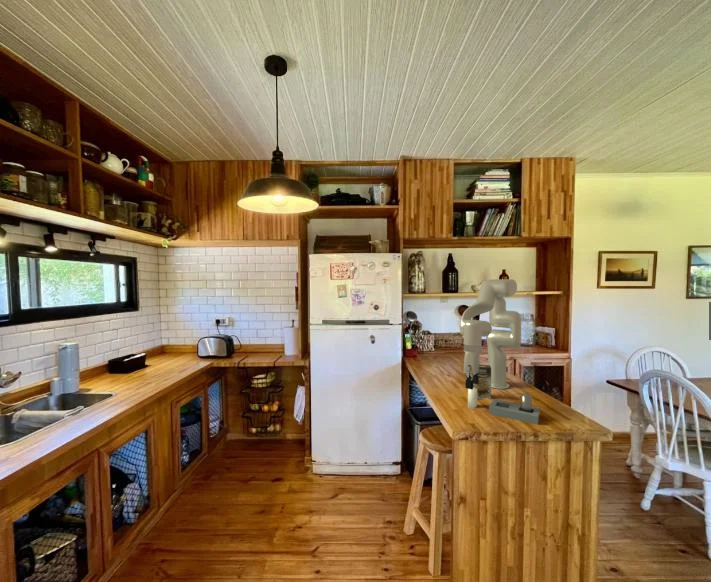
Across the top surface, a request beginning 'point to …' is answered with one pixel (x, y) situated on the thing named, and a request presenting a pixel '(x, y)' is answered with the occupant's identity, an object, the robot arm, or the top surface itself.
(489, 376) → the coffee box
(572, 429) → the top surface
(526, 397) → the metal cylinder peg
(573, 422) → the top surface
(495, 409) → the block
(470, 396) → the cream rounded smooth part
